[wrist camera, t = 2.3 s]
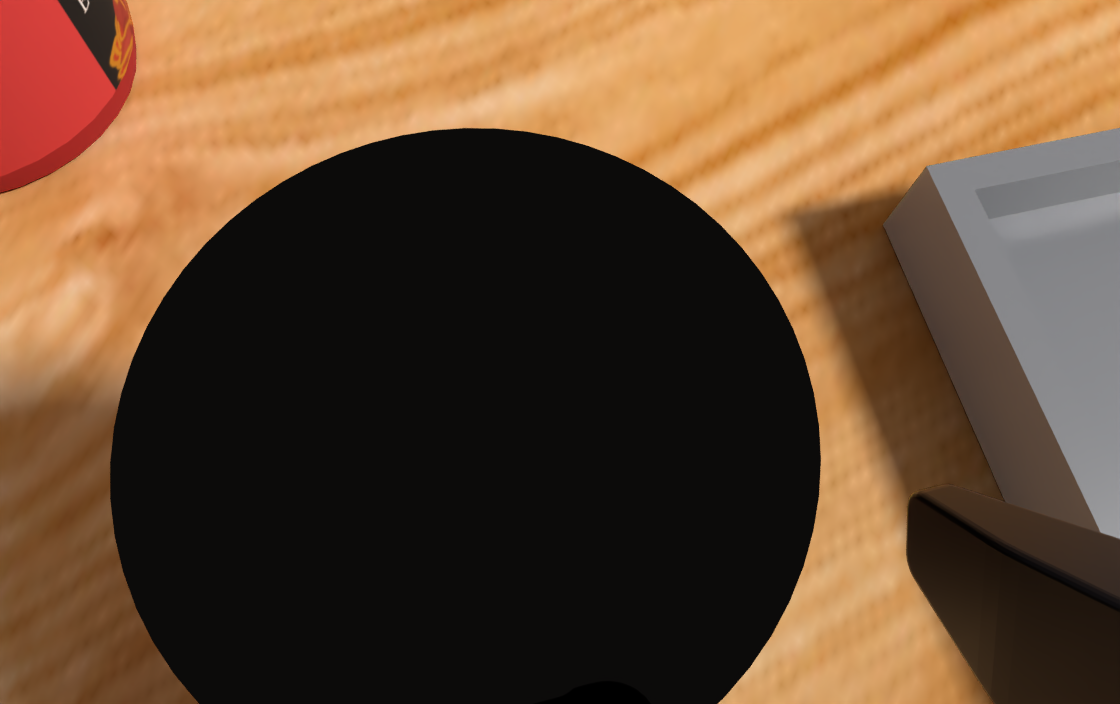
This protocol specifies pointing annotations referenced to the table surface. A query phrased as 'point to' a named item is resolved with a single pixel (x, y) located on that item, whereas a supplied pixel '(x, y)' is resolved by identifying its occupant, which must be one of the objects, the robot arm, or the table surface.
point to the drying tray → (1028, 313)
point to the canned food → (59, 81)
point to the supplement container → (466, 438)
